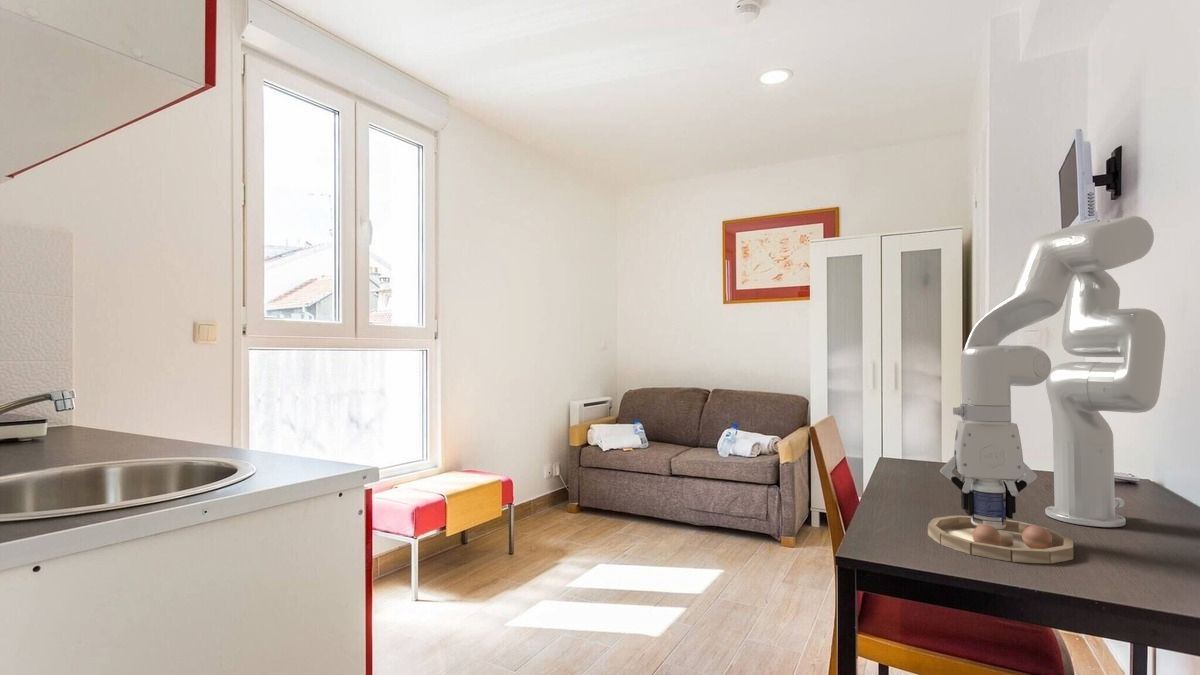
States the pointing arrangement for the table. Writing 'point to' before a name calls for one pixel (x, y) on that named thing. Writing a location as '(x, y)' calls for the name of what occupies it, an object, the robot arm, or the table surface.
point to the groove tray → (1011, 548)
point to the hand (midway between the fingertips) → (988, 514)
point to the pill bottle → (989, 503)
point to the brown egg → (986, 535)
